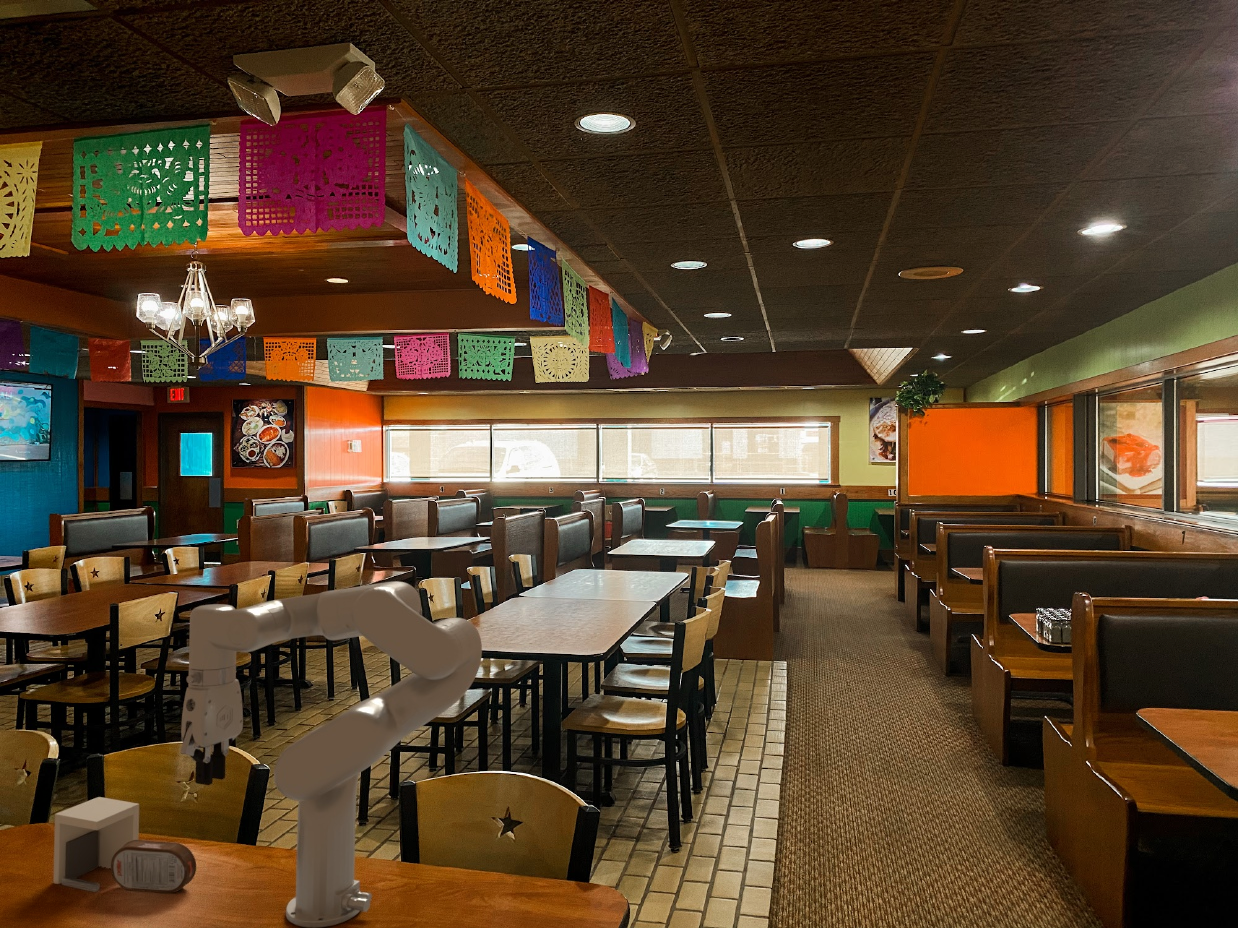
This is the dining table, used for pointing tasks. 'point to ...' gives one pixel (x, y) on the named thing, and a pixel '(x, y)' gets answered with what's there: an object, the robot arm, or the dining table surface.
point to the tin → (153, 866)
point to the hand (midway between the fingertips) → (210, 779)
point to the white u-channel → (91, 838)
